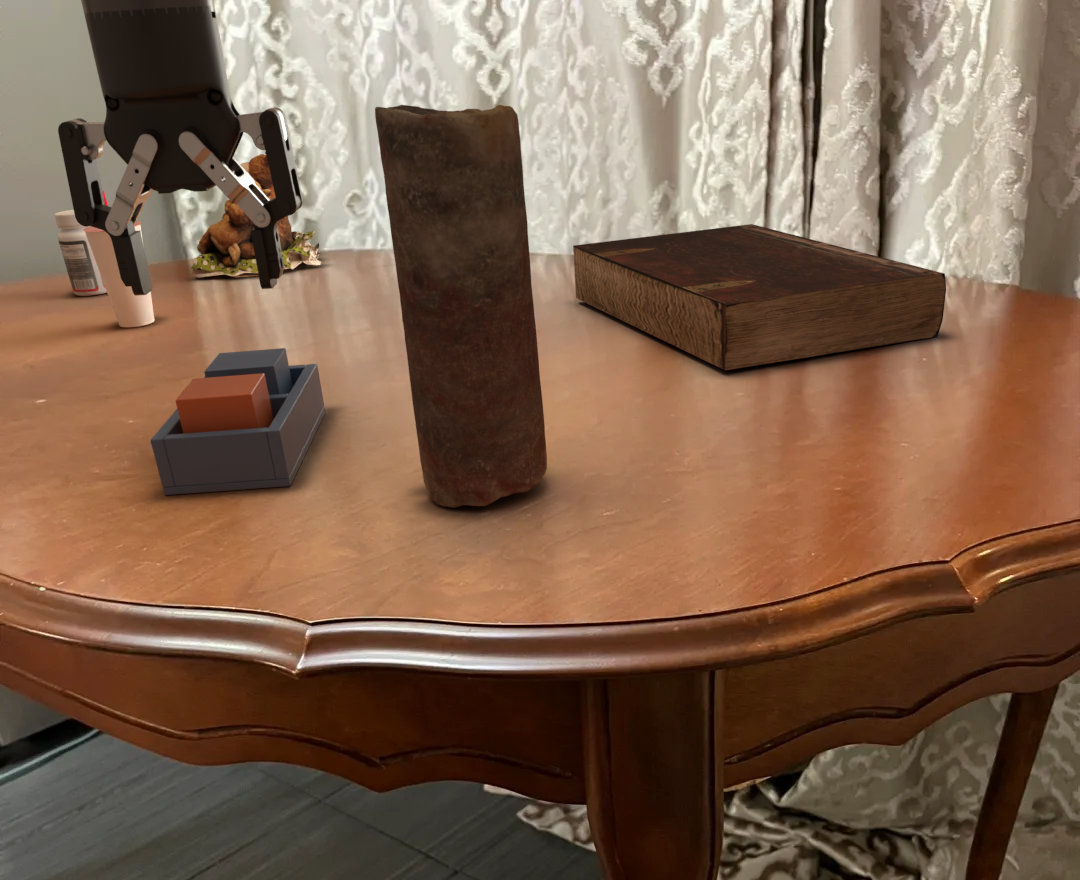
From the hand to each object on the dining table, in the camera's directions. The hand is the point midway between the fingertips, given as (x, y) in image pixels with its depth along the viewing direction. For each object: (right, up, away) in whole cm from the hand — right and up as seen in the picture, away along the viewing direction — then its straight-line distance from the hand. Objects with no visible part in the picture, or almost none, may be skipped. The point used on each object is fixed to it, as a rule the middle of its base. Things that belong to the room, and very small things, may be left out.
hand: (207, 289), depth 75 cm
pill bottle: (-28, +19, +51) cm, 61 cm away
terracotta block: (+3, -12, -4) cm, 13 cm away
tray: (+3, -11, 0) cm, 11 cm away
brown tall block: (+19, -15, -9) cm, 26 cm away
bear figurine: (-11, +25, +57) cm, 63 cm away
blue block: (+3, -9, +2) cm, 9 cm away
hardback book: (+40, +5, +21) cm, 45 cm away
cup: (-17, +10, +36) cm, 41 cm away
